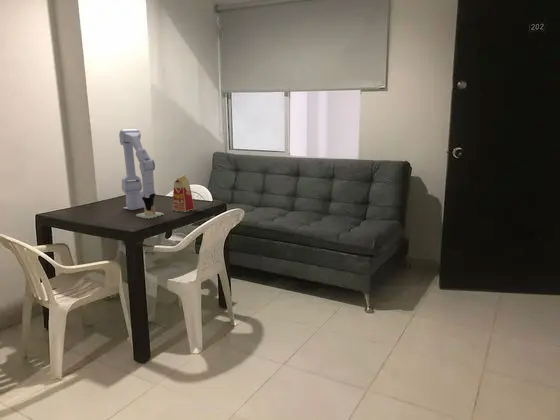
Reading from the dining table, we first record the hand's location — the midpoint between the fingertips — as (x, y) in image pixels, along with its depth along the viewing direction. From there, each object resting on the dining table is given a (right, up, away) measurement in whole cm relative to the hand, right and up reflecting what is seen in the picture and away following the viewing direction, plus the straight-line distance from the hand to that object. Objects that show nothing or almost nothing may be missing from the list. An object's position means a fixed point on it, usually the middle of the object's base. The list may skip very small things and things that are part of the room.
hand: (149, 208), depth 245 cm
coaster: (0, -4, +1) cm, 4 cm away
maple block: (0, -3, +1) cm, 3 cm away
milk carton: (+15, -1, +14) cm, 20 cm away
